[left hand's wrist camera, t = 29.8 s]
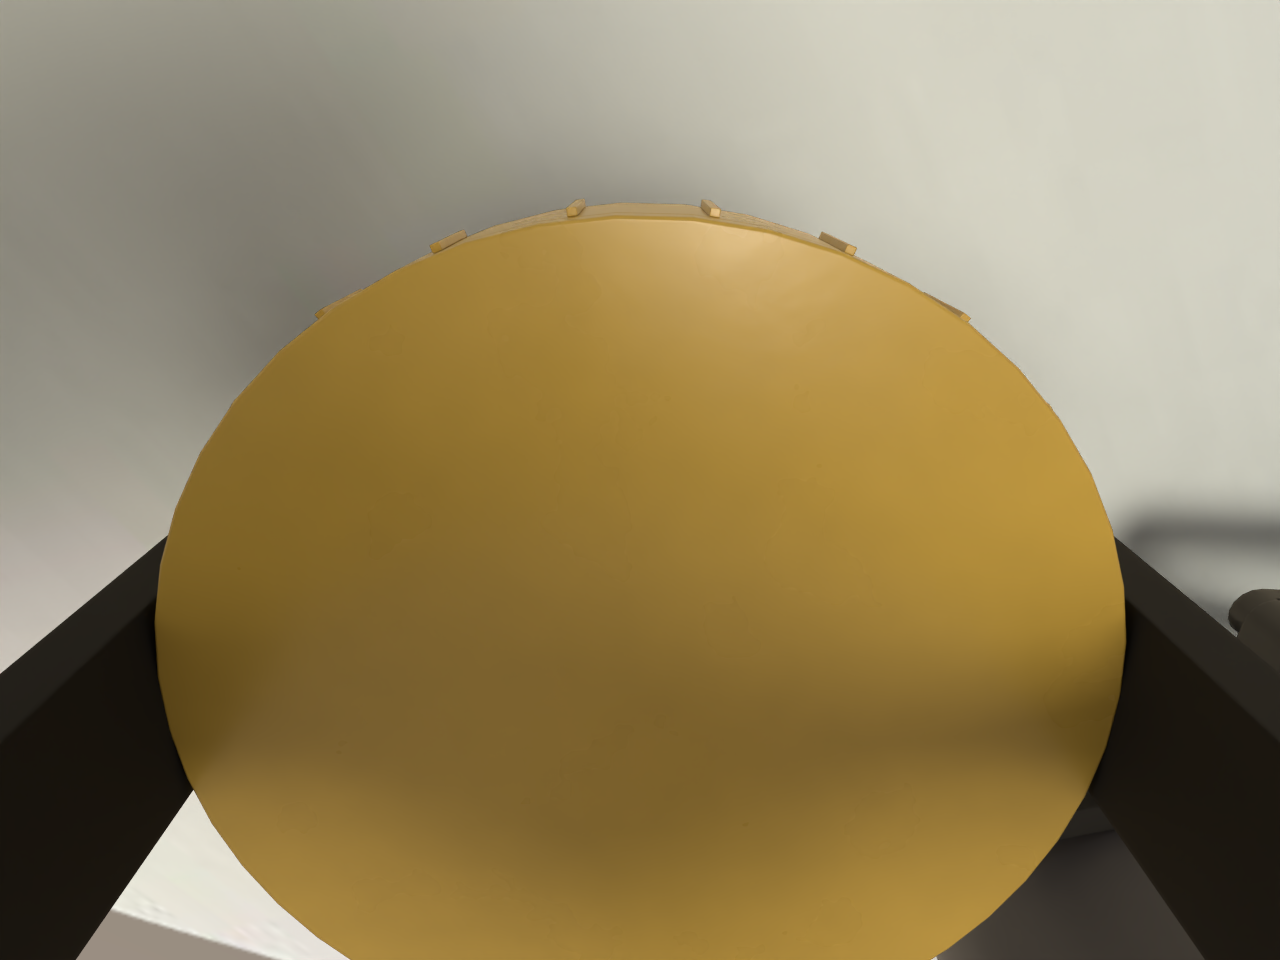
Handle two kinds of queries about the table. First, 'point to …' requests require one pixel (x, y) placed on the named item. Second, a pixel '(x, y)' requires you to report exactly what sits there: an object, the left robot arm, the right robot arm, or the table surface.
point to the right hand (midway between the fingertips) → (973, 958)
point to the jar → (1081, 911)
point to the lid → (640, 605)
